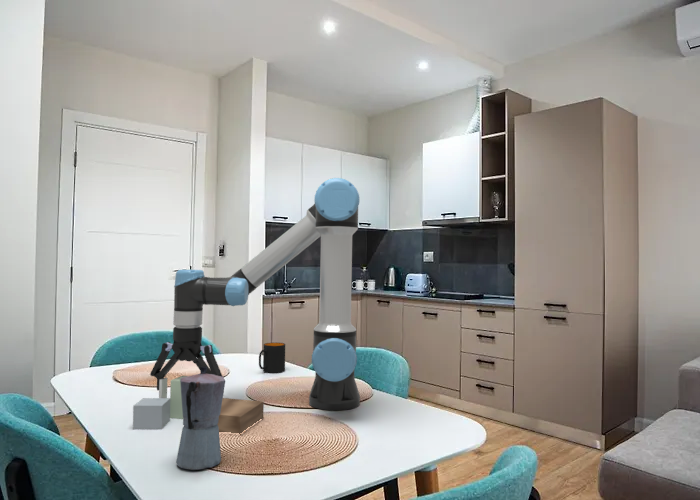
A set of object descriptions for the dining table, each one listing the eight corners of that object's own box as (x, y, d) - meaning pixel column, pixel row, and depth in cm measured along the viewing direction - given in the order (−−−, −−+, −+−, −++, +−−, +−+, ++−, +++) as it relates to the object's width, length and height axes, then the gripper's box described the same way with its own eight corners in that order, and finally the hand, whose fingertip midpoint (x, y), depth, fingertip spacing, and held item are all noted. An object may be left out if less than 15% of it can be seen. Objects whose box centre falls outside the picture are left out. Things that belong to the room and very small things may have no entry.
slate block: (169, 421, 134) (170, 398, 134) (161, 429, 127) (162, 405, 127) (142, 421, 134) (143, 398, 134) (132, 429, 127) (133, 405, 127)
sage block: (201, 413, 141) (202, 376, 141) (190, 419, 135) (191, 381, 135) (181, 411, 142) (182, 375, 142) (169, 418, 136) (170, 380, 137)
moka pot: (230, 450, 114) (231, 360, 114) (214, 480, 98) (216, 375, 99) (186, 450, 113) (188, 359, 114) (163, 480, 98) (166, 375, 98)
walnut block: (263, 420, 137) (263, 401, 137) (240, 437, 123) (240, 416, 123) (215, 415, 140) (216, 397, 140) (188, 432, 127) (188, 411, 127)
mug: (251, 373, 192) (251, 345, 193) (274, 368, 202) (274, 341, 202) (266, 376, 187) (267, 347, 188) (289, 371, 197) (289, 344, 197)
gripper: (236, 326, 140) (234, 404, 140) (154, 322, 146) (152, 397, 145) (224, 330, 133) (221, 412, 132) (138, 325, 138) (135, 404, 138)
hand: (185, 404), depth 139 cm, fingers open, 13 cm apart
